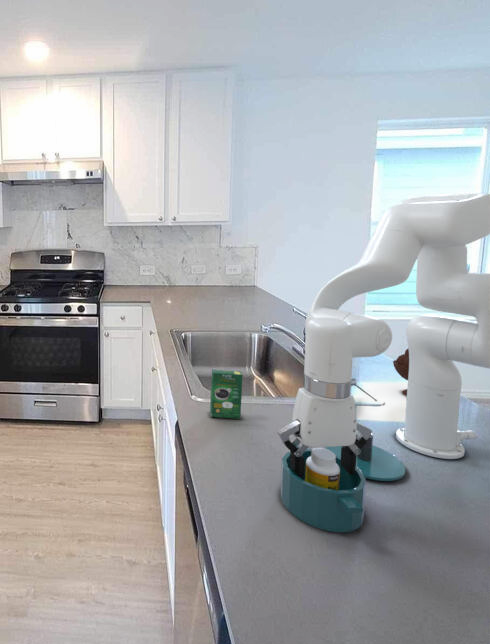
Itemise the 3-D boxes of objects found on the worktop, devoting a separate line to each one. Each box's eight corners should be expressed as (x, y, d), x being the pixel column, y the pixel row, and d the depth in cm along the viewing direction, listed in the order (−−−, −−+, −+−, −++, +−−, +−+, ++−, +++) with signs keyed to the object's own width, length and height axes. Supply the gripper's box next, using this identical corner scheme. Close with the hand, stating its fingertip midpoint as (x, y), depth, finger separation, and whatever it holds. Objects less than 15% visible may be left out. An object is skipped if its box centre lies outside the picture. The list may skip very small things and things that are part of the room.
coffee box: (239, 414, 114) (240, 370, 113) (241, 419, 112) (242, 373, 110) (210, 413, 116) (210, 368, 114) (211, 417, 113) (211, 372, 112)
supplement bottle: (328, 517, 74) (331, 465, 73) (298, 500, 79) (300, 451, 78) (343, 505, 77) (346, 455, 76) (313, 489, 82) (316, 441, 81)
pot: (324, 473, 88) (326, 440, 87) (393, 543, 69) (396, 502, 68) (262, 475, 87) (263, 443, 86) (314, 546, 68) (316, 505, 68)
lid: (371, 443, 99) (373, 417, 98) (423, 482, 84) (426, 452, 83) (312, 445, 98) (313, 419, 98) (353, 485, 84) (355, 454, 83)
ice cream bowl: (383, 386, 131) (386, 341, 129) (421, 388, 129) (425, 342, 128) (404, 401, 120) (408, 352, 119) (446, 403, 119) (450, 353, 117)
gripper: (358, 376, 79) (353, 458, 81) (270, 378, 79) (268, 461, 81) (387, 392, 72) (381, 482, 74) (291, 395, 71) (287, 486, 73)
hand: (322, 471), depth 77 cm, fingers open, 9 cm apart
